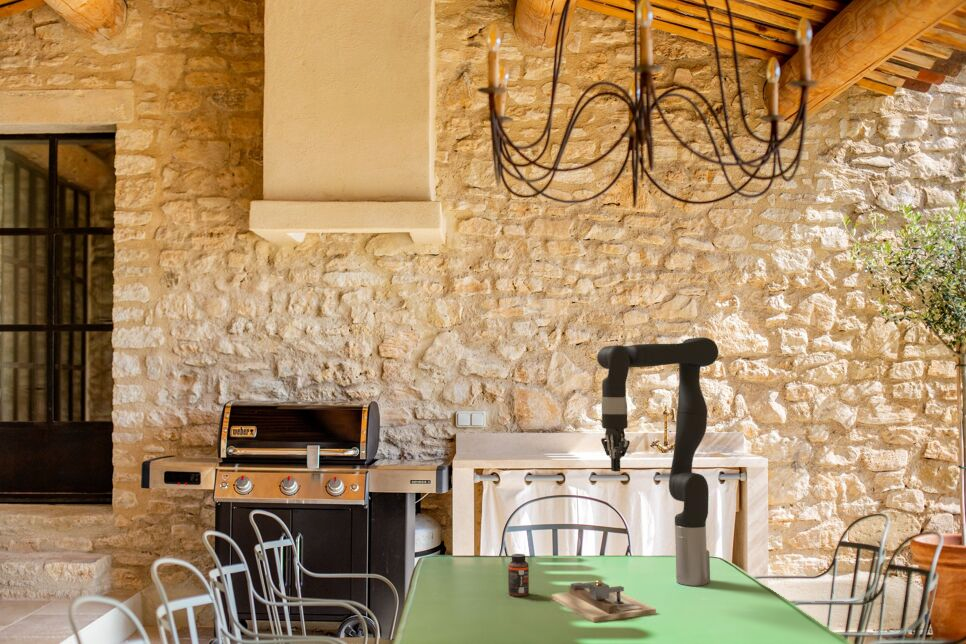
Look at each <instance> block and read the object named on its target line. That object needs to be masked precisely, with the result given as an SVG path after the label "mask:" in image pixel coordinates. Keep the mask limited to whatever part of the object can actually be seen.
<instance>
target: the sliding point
mask: <svg viewBox="0 0 966 644" xmlns="http://www.w3.org/2000/svg"><path fill="white" fill-rule="evenodd" d="M595 582H596V583H591V584H589V588H588V590H589V597H591V598H593V599H595V600H603V599H609V593H613V592H617V602H621V600H620V593H622V592H624V591H625V588H624V587H623V586H621V585H618V586H610V585H609V584H608V583H605V582H603V580H601V579H596V580H595Z"/></svg>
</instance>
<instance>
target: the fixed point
mask: <svg viewBox="0 0 966 644" xmlns="http://www.w3.org/2000/svg"><path fill="white" fill-rule="evenodd" d="M591 583H596V581H590V582H574V583H572V582H571V583H570V586H571V588H572V589H574V590H579V589H585V590H586V589H589V584H591Z"/></svg>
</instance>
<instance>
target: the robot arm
mask: <svg viewBox="0 0 966 644" xmlns="http://www.w3.org/2000/svg"><path fill="white" fill-rule="evenodd" d="M718 357H719V347H718V345H717V344H716V342H715V341H713V339H710V338H708V337H692V338H686V339H685V340H683V341H682V342H681V343H639V344H633V345H621V344H617V345H607V346H604V347H602V348H601V349H600V350H599V351H598V353H597V354H596V361H597V363H598V365H599V366H600V367H602V368H603V369H606V370H608V372H607V373H608V374H607V376H606V377H605V378H604V379H603V380H602V383H601V393H602V395H601V396H602V398H601V399H602V400H601V427H602V429H605V432H604V438H601V439H600V441H601V445H602V446H603V450H604V452H605V454H606V456H609V458H610V469H611V472H616V473H617V472H620V471H621V459H622V458H623V457H625V456H626V453H627V451H628V448H630V447H629V446H630V443H631V442H630V440H627V439H626V438H625V437H626V435H625V429H628V400H627V388H626V387H627V386H626V383H627V380H628V375H629V369H630V368H650V367H657V366H658V367H659V366H665V365H666V366H667V365H677V364H678V373H679V374H678V376H679V377H678V399H677V408H676V409H677V411H676V421H675V423H676V424H675V437H674V439H675V440H674V447H673V456H672V462H671V468H670V473H669V478H668V479H669V480H668V491H669V494H670V496H671V498H673V499H674V500H676V501H677V502H678V501H679V502H683V510H682V512H680V513H677V514H676V515H675V516H674V535H675V536H674V538H675V540H674V541H675V573H676V575H675V577H676V583H678V584H681V585H684V586H691V587H692V586H694V587H697V586H698V587H699V586H705V585H707V584H710V583H711V562H710V559H711V558H710V557H711V556H710V550H708V548H707V519H708V515H709V493H710V492H709V484H708V481H707V479H706V478H705V476H704V475H702V474H700V473H695V472H693V462H694V456H695V454H696V451H697V449H698V448H699V446H700V444H701V442H702V441H703V439H704V437H705V434H706V431H707V425H708V422H707V421H708V406H707V403H706V399H705V397H704V394H703V392H702V389H701V383H700V375H701V374H700V373H701V372H700V371H701V368H704V367H709V366H712V365H713V364H714V363H715V362H716V361H717V360H718Z"/></svg>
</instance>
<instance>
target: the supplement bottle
mask: <svg viewBox="0 0 966 644" xmlns="http://www.w3.org/2000/svg"><path fill="white" fill-rule="evenodd" d="M510 558H511V560H510V562H509V563H508V566H507V567H508V568H507V569H508V573H507V574H508V576H507V577H508V581H507V582H508V583H507V584H508V594H509V595H510V596H511V597H518V598H519V597H520V598H521V597H526V596H528V595H529V594H530V591H529V590H530V588H529V587H530V586H529V585H530V582H529V581H530V575H529V573H530V570H529V563H528V562H527V561H526V555H525V554H524V553H514V554H511V557H510Z"/></svg>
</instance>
